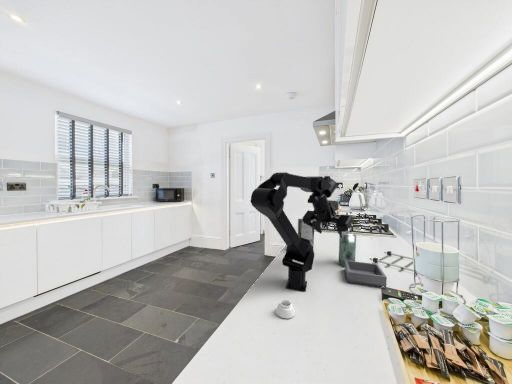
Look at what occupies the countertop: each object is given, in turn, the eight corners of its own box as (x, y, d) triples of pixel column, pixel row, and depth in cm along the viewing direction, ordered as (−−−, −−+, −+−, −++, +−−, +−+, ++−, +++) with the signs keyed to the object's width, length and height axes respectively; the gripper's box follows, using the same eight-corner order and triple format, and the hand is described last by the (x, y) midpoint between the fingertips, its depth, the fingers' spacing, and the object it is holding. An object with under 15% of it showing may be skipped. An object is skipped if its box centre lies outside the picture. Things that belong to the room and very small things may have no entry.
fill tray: (386, 289, 69) (386, 277, 69) (347, 283, 73) (348, 271, 73) (377, 274, 80) (377, 264, 80) (344, 270, 84) (344, 260, 84)
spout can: (355, 269, 85) (357, 231, 84) (338, 267, 87) (340, 229, 86) (353, 263, 91) (355, 227, 90) (337, 261, 93) (339, 226, 92)
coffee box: (313, 255, 100) (314, 221, 99) (300, 255, 100) (301, 221, 99) (309, 249, 109) (310, 218, 108) (296, 248, 109) (297, 218, 109)
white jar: (275, 307, 58) (276, 319, 53) (275, 297, 58) (276, 308, 53) (293, 308, 58) (296, 320, 53) (293, 298, 58) (296, 309, 53)
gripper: (353, 193, 77) (361, 225, 84) (309, 191, 90) (319, 218, 97) (342, 213, 71) (351, 245, 78) (296, 208, 84) (308, 235, 91)
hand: (331, 234), depth 86 cm, fingers open, 9 cm apart
